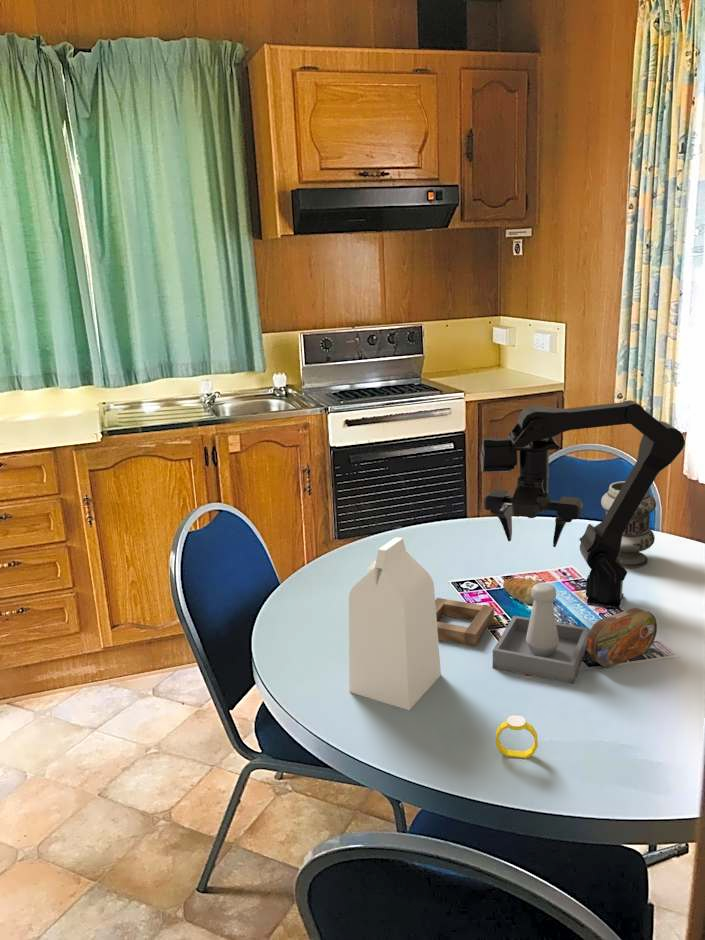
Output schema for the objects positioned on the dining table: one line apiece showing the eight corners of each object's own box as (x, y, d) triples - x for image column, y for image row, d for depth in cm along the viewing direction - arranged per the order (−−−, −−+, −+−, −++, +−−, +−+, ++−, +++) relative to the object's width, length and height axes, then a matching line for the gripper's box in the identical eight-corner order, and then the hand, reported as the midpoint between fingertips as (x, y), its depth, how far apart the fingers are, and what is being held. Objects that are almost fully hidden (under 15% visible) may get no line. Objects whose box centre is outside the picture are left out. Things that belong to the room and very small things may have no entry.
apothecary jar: (608, 545, 186) (611, 475, 181) (659, 555, 179) (664, 482, 174) (590, 563, 177) (594, 489, 171) (644, 574, 170) (649, 497, 165)
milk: (408, 710, 125) (404, 563, 117) (349, 691, 131) (341, 550, 123) (441, 674, 134) (438, 536, 127) (384, 659, 140) (378, 526, 133)
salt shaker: (565, 655, 137) (567, 589, 133) (538, 663, 135) (540, 596, 131) (545, 641, 142) (547, 576, 138) (519, 648, 140) (520, 583, 136)
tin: (595, 673, 133) (597, 629, 130) (582, 664, 135) (584, 622, 133) (657, 649, 139) (660, 607, 137) (643, 642, 142) (646, 600, 139)
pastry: (495, 592, 165) (495, 576, 164) (516, 583, 169) (516, 567, 168) (529, 606, 158) (530, 589, 157) (550, 597, 162) (551, 580, 161)
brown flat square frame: (493, 618, 153) (494, 607, 153) (475, 646, 143) (475, 634, 142) (437, 608, 158) (437, 597, 158) (416, 635, 148) (415, 623, 148)
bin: (587, 645, 142) (588, 628, 141) (573, 683, 130) (573, 665, 129) (513, 631, 148) (513, 615, 147) (492, 667, 136) (492, 650, 135)
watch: (496, 761, 112) (493, 725, 110) (497, 749, 114) (494, 714, 113) (538, 762, 111) (536, 726, 109) (538, 750, 113) (535, 715, 112)
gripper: (475, 477, 149) (475, 551, 153) (573, 486, 141) (570, 565, 145) (492, 462, 158) (491, 532, 163) (584, 470, 150) (581, 544, 155)
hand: (531, 543), depth 156 cm, fingers open, 9 cm apart
